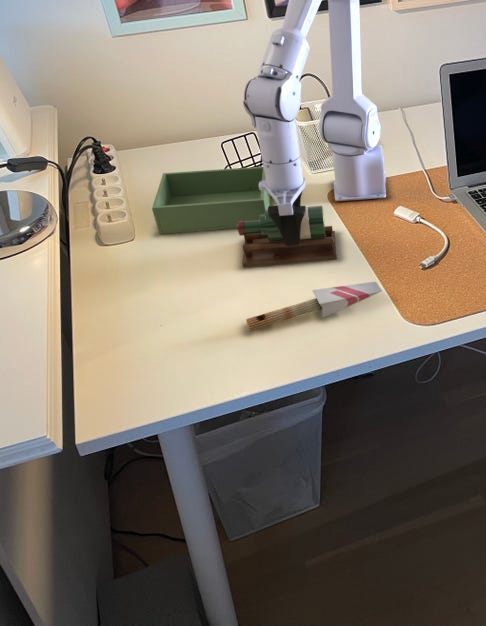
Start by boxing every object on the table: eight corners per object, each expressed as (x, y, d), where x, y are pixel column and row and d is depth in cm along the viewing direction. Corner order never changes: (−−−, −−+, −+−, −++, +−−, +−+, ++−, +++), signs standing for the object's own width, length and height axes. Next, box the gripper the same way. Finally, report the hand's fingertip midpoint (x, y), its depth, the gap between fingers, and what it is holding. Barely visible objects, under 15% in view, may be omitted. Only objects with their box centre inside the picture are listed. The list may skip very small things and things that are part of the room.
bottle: (325, 227, 123) (321, 199, 119) (326, 243, 119) (322, 215, 115) (242, 233, 120) (237, 205, 117) (240, 250, 116) (234, 222, 113)
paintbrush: (382, 285, 108) (248, 324, 101) (384, 299, 110) (252, 339, 103) (373, 271, 111) (242, 309, 104) (375, 286, 113) (246, 324, 106)
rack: (335, 234, 125) (333, 219, 124) (337, 259, 119) (335, 244, 117) (245, 242, 123) (242, 226, 121) (243, 267, 117) (239, 252, 115)
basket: (270, 190, 138) (266, 166, 134) (268, 225, 127) (263, 199, 124) (169, 198, 134) (163, 173, 131) (159, 234, 124) (151, 208, 121)
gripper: (256, 138, 116) (269, 212, 124) (251, 179, 105) (266, 258, 113) (301, 135, 117) (311, 209, 125) (301, 175, 106) (312, 254, 114)
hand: (292, 232), depth 119 cm, fingers open, 7 cm apart
